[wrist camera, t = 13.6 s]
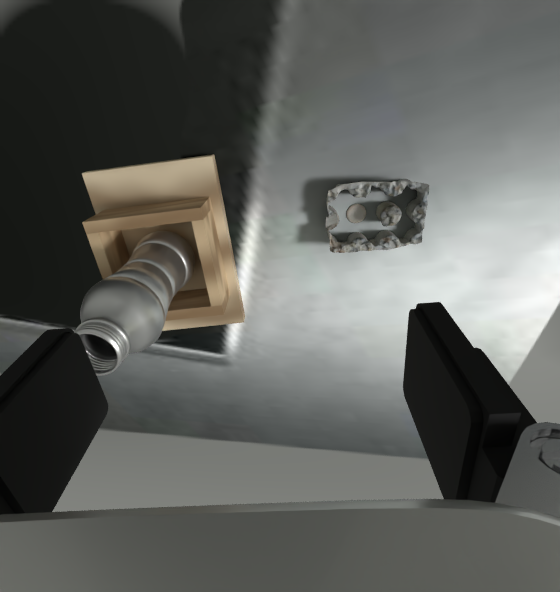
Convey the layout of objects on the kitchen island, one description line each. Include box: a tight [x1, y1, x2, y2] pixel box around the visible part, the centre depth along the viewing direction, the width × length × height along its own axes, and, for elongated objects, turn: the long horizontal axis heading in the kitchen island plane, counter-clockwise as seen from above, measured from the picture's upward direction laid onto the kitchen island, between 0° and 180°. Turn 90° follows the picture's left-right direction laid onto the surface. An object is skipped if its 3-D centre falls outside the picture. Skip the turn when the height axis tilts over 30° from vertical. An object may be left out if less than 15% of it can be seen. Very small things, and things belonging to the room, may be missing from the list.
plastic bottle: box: [75, 230, 195, 376], centre depth 35 cm, size 6×7×20 cm
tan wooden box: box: [82, 155, 245, 331], centre depth 42 cm, size 20×14×6 cm
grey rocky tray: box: [326, 179, 429, 253], centre depth 41 cm, size 11×8×4 cm
